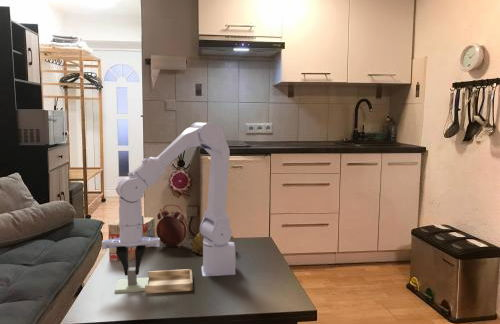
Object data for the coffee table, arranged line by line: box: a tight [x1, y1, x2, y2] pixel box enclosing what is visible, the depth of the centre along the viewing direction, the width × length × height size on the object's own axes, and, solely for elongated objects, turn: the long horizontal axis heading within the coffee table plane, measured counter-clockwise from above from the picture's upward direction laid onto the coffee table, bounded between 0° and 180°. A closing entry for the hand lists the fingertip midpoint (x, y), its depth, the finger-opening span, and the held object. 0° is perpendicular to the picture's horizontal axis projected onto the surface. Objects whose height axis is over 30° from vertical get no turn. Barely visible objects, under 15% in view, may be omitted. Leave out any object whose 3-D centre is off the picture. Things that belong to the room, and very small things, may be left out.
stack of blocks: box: [107, 215, 156, 262], centre depth 136 cm, size 21×6×12 cm, turn 170°
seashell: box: [189, 228, 235, 256], centre depth 137 cm, size 11×14×10 cm
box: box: [144, 268, 194, 294], centre depth 108 cm, size 12×10×2 cm
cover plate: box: [114, 266, 149, 294], centre depth 106 cm, size 8×7×5 cm
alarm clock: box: [155, 204, 190, 248], centre depth 141 cm, size 11×5×15 cm, turn 77°
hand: (132, 273), depth 106 cm, fingers closed on cover plate
